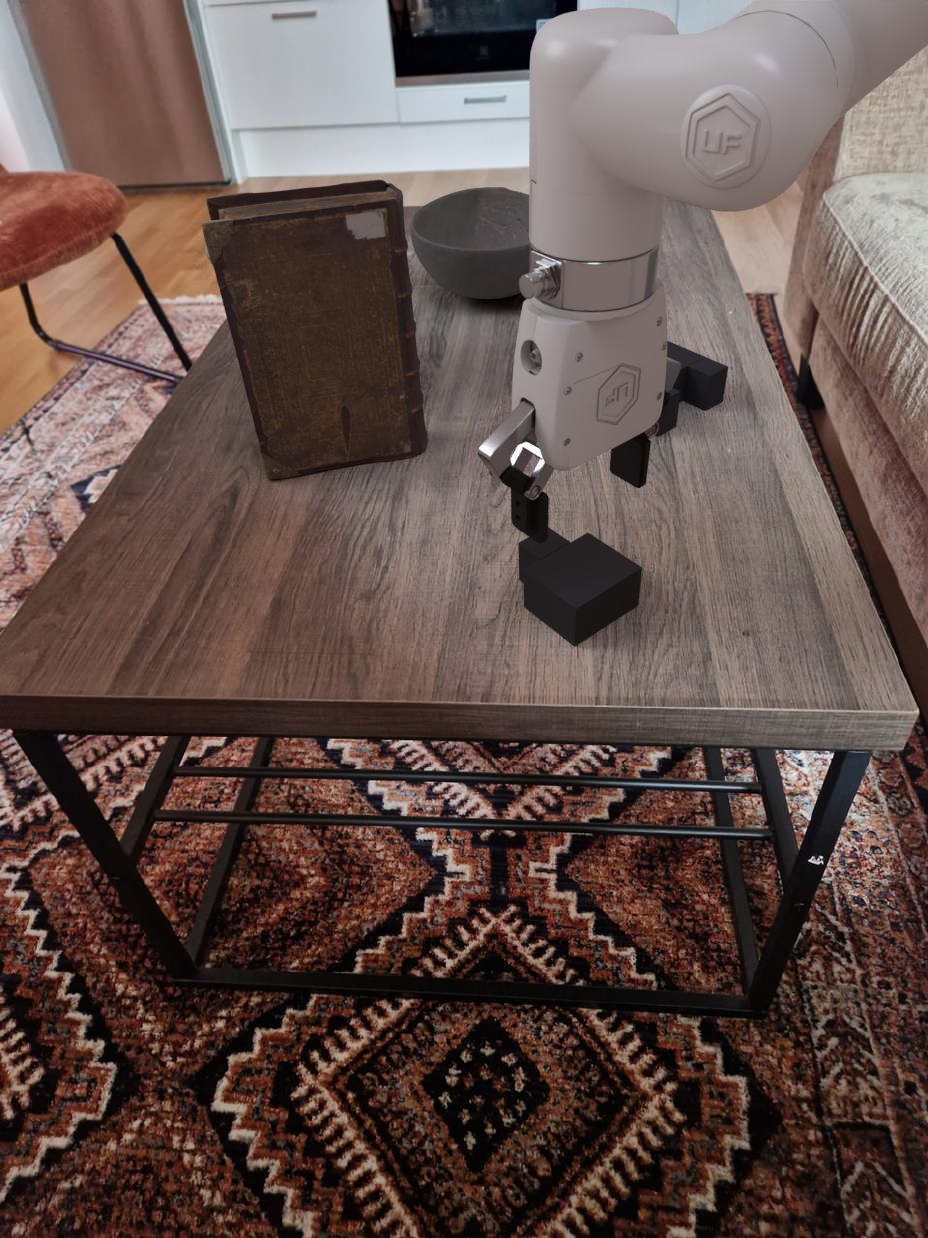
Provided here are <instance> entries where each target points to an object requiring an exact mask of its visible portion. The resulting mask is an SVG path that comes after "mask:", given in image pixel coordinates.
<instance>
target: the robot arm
mask: <svg viewBox="0 0 928 1238" xmlns="http://www.w3.org/2000/svg"><path fill="white" fill-rule="evenodd" d="M927 46H928V0H752V1H751V2H750V3H749V4H748V5H747V6H745V7H744V8H743V9H742V10H740V11H738V12H737V13H736V14H734V15H733V16H732V17H730V19H728V20H727V21H726V22H724V23H722V24H720V25H717V26H715V27H713V28H710V29H708V30H704V31H702V32H696V33H695V32H694V33H680V32H679V30H678V28H677V26H676V24H675V23H674V22H673V20H671V19H670V18H669V17H668V16H667V15H664V14H662V13H660V12H657V11H654V10H651V9H645V8H637V7H596V8H586V9H580V10H575V11H574V10H573V11H569V12H564V13H562V14H559V15H557V16H555V17H553V18H550V19H549V20H547V21H546V22H545V23H544V24H543V25H542V26H541V27H540V28H539V29H538V31H537V33H536V34H535V36H534V39H533V41H532V46H531V49H530V56H529V85H528V86H529V89H528V91H529V93H528V94H529V95H528V96H529V100H528V102H529V108H528V109H529V119H528V120H529V121H528V123H529V125H528V127H529V130H528V131H529V133H528V143H529V144H528V147H529V148H528V154H529V155H528V179H529V181H528V195H529V273H527V274H525V275H522V276H521V277H520V279H519V289H520V292H521V293H520V294H521V296H523V298H525V300H523V301H522V308H521V311H520V317H519V321H518V328H517V334H516V340H515V349H514V357H513V367H512V368H513V370H512V382H511V407H510V408H511V411H510V413H509V414H508V416H506V418H505V419H503V421H502V422H501V423H500V424H499V425H498V426H497V427H496V428H495V430H493V432H492V433H491V434H489V436H488V437H487V438H486V439H485V440H484V441H483V442H482V444H481V445H480V446H479V447H478V450H477V456H478V457H479V459H480V460H481V462H482V463H483V465H484V466H485V468H486V469H487V470H488V473H489V475H490V476H491V477H493V478H494V479H496V480H497V481H499V482H500V483H501V484H503V485H505V486H506V487H507V488H509V489H510V517H511V518H510V519H511V523H512V525H513V526H514V528H515V529H517V530H518V531H519V532H521V533H523V534H525V536H527V537H530V538H531V539H533V540H534V541H536V542H537V543H539V544H541V543H543V542H544V541H546V540H547V537H548V527H549V516H550V515H549V511H550V497H549V495H548V493H546V492H545V491H544V489H545V487H546V485H547V484H548V482H549V480H550V478H551V477H552V475H553V473H554V471H555V470H556V471H559V472H566V471H570V470H573V469H574V468H577V467H580V466H581V465H584V464H585V463H587V462H589V461H591V460H594V459H595V458H597V457H599V456H601V455H603V454H605V453H607V452H609V451H610V457H609V459H610V460H609V472H610V473H611V474H612V475H613V476H615V477H617V478H619V479H620V480H622V481H624V482H626V483H627V484H629V485H631V486H632V487H634V488H637V489H641V488H642V487H644V486H646V484H647V480H648V471H649V463H650V456H651V455H650V453H651V447H652V446H651V445H652V440H651V438H654V437H655V436H656V434H657V432H658V430H659V423H658V422H657V420H658V419H659V417H660V415H661V414H662V412H663V411H664V409H665V408H666V406H667V405H668V403H669V401H670V393H669V391H670V390H672V388H673V386H674V383H675V381H676V379H677V377H678V374H679V372H680V369H681V363H679V362H677V361H675V360H673V359H671V358H669V357H667V341H668V312H667V298H666V292H665V286H664V283H663V281H662V279H660V278H659V277H658V274H659V265H660V256H661V248H662V238H663V231H664V222H665V211H666V203H667V198H668V199H671V200H674V201H677V202H680V203H683V204H687V205H689V206H693V207H696V208H700V209H704V210H710V211H716V212H724V213H725V212H729V213H733V212H734V213H735V212H743V211H748V210H754V209H756V208H759V207H762V206H763V205H766V204H768V203H770V202H771V201H773V200H776V199H777V198H778V197H780V196H781V195H783V194H784V193H785V192H786V191H787V190H788V189H790V187H791V186H793V184H795V183H796V182H797V180H798V179H799V178H800V176H801V175H802V174H803V173H804V172H805V170H806V169H807V167H808V166H809V164H810V163H811V161H812V160H813V158H814V156H815V155H816V153H817V152H818V150H819V148H820V146H821V145H822V143H823V142H824V141H825V139H826V136H827V135H828V133H829V132H830V131H831V129H832V127H833V126H834V125H835V124H836V123H837V122H838V121H839V120H840V119H841V118H842V117H843V116H845V114H846V113H848V112H849V111H850V110H851V109H852V108H853V107H855V106H856V105H857V104H858V103H859V102H861V101H862V100H863V99H864V98H865V97H866V96H868V95H869V94H870V93H871V92H872V91H874V90H875V89H876V88H877V87H879V86H880V85H881V84H883V82H885V80H887V79H888V78H890V77H891V76H892V75H893V74H895V72H897V71H898V70H899V69H900V68H902V67H903V66H904V65H905V64H906V63H908V62H909V61H910V60H911V59H912V58H913V57H915V56H916V55H917V54H918V53H920V52H921V51H922V50H923V49H925V48H926V47H927ZM512 453H513V454H512ZM533 456H535V457H536V458H538V459H539V460H538V463H537V464H536V466H535V467H534V470H533V471H532V473H531V475H530V476H529V475H527V474H526V473H524V471H525V469H526V467H527V466H528V464H529V462H530V460H531V459H532V457H533Z"/></svg>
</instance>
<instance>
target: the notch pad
mask: <svg viewBox="0 0 928 1238" xmlns="http://www.w3.org/2000/svg"><path fill="white" fill-rule="evenodd" d="M667 357H669V358H671V359H673V360H675V361H677V362H679V363H681V369H680V372H679V374H678V377H677V379H676V381H675V383H674V386H673V388H672V390H670V391H669V393H670V401H669V403H668V405H667V406H666V408H665V409H664V411H663V412H662V414H661V415H660V417H659V419H658V420H657V422H658V423H659V430H658V432H657V434H656V435H655V436H656V437H659V436H661V435H664V434H665V433H667V432H669V431H671V430H672V429H675V428H676V427H677V424H678V417H679V416H678V415H679V408H680V403H681V402H686V403H689V404H690V405H692V406H695V407H697V408H699V409H701V410H703V411H707V410H709V409H711V408H713V407H715V406H717V405H718V404H720V403H722V402H724V397H725V391H726V384H727V380H728V379H727V378H728V373H729V366H728V365H726V364H723V363H721V362H719V361H716V360H713V359H711V358H709V357H707V356H705V355H702V354H700V353H698V352H696V351H693V350H691V349H688V348H686V347H685V346H682V345H679V344H676V343H674V342H672V341H669V340H667Z"/></svg>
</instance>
